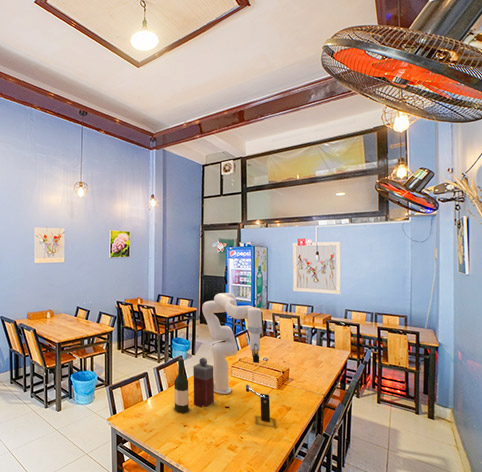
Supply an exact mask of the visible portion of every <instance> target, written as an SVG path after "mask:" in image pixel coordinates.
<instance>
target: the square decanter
mask: <svg viewBox="0 0 482 472" xmlns="http://www.w3.org/2000/svg"><path fill="white" fill-rule="evenodd" d="M198 361H199V363H197V364H195V365H193V369H192V371H193V405H194V406H196V407H199V408H203V407H205V408H208V407H209V406H211V405H212V404H213V403H215V392H214V365H213V364H212V365H211V364H208V359H207V358H205V357H201V358H199V360H198Z"/></svg>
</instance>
